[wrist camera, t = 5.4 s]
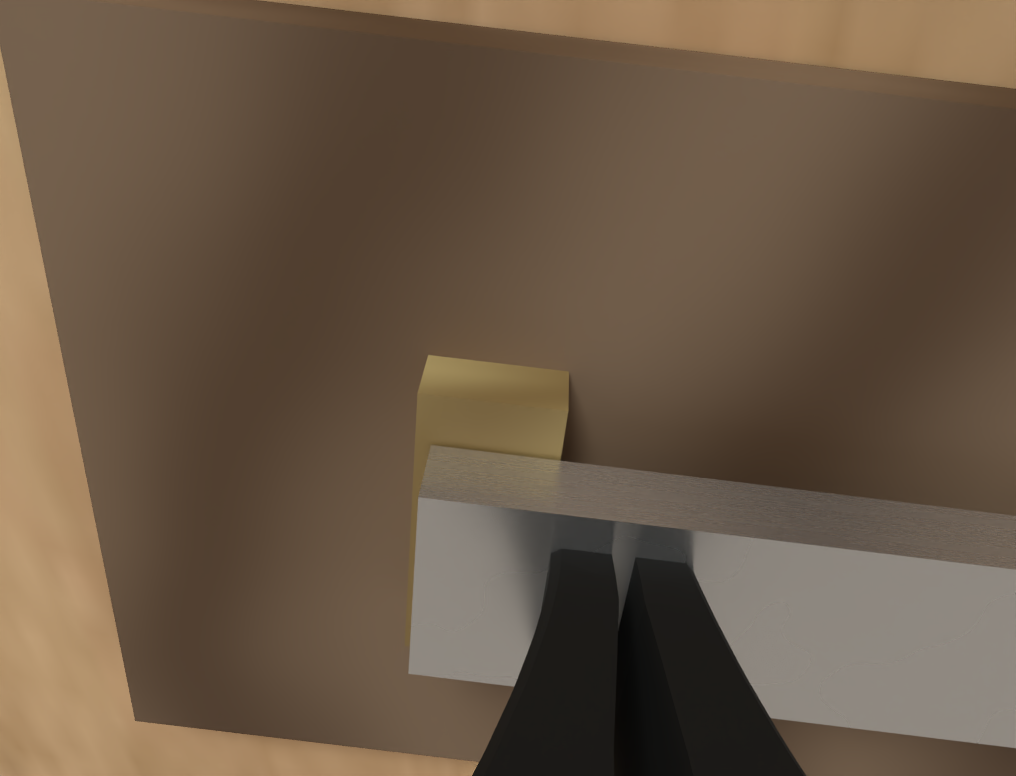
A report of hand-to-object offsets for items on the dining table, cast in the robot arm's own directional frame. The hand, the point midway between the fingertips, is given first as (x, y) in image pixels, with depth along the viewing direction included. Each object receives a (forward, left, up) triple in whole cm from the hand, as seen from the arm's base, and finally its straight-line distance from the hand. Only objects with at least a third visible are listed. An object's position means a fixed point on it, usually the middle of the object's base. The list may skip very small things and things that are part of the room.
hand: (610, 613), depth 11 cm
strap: (-4, 0, -1) cm, 4 cm away
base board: (-3, 0, -3) cm, 4 cm away
